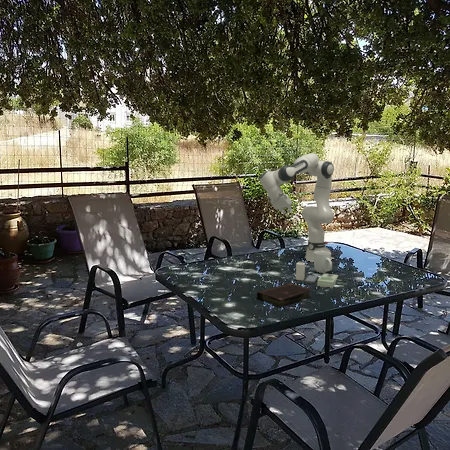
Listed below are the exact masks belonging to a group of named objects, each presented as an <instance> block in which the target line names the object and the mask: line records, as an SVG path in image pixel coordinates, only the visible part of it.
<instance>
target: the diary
mask: <svg viewBox="0 0 450 450" xmlns="http://www.w3.org/2000/svg"><path fill="white" fill-rule="evenodd" d="M312 290H313V289H312V288H309V287H305V286H302V285H298V284H294V283H290V282H287V283H284V284H281V285H276V286H273V287H269V288H266V289H262V290H258V291H256V299H260V300H262V301H265V302H266V303H267V304H270V305H272V306H273V305H274V306H275V307H277V308H278V307H281V308H283V307H286V306H290V305H292V304H294V303H295V304H296V303H298V302H302V301H303V300H306V299H307V300H308V299H311V298H312V296H310V291H312Z"/></svg>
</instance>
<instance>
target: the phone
mask: <svg viewBox="0 0 450 450" xmlns="http://www.w3.org/2000/svg"><path fill="white" fill-rule="evenodd" d="M318 279H319V275H313V274H311V275H310V274H309V275H308V276H307V277H306V278H305V279H304V280H303V281H304V284H312V283H313V284H314V283H315V284H316V283H317V281H318ZM316 280H317V281H316ZM313 284H312V285H313Z"/></svg>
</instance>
